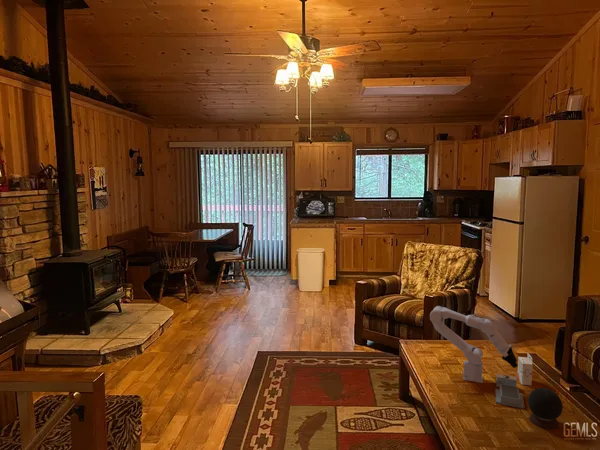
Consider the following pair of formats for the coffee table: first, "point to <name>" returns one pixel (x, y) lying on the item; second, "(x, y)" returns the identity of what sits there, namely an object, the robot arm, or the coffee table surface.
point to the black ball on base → (545, 408)
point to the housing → (505, 380)
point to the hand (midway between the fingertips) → (515, 364)
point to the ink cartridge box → (525, 370)
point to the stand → (509, 396)
